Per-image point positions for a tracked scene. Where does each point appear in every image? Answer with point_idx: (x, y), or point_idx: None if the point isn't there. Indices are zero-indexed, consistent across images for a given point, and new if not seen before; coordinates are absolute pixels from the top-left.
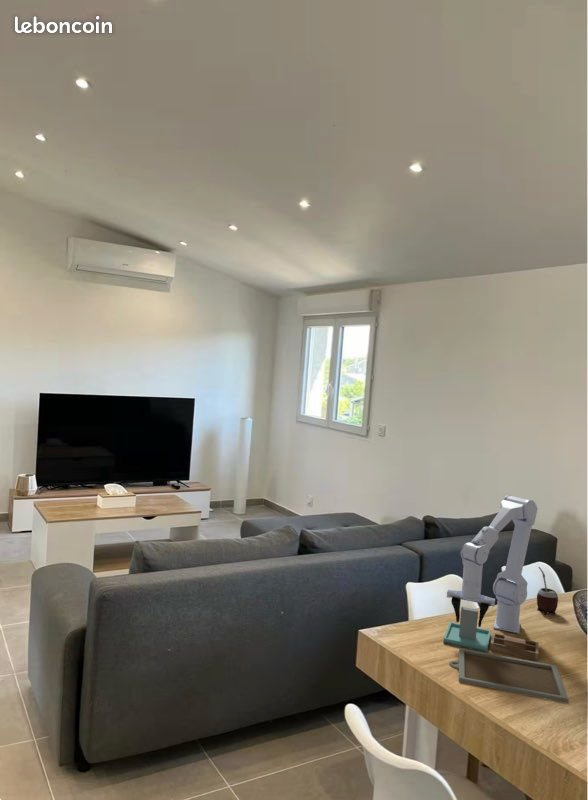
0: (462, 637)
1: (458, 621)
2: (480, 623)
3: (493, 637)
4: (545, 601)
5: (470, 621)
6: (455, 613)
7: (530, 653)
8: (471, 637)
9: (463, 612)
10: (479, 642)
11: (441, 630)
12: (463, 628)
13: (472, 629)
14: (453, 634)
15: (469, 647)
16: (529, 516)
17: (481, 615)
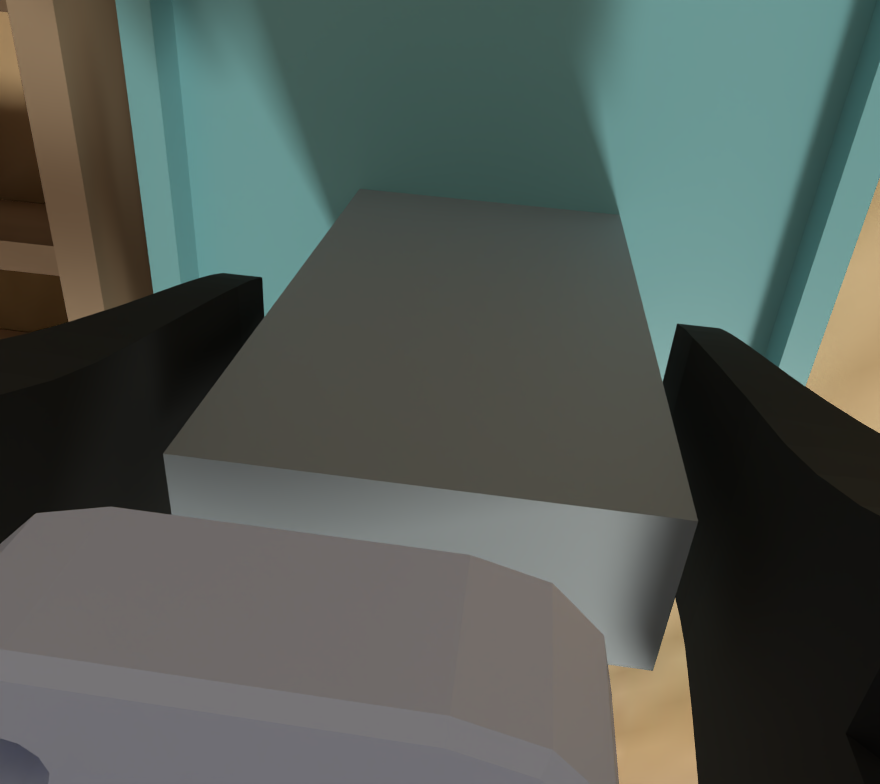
0: (563, 206)
1: (685, 329)
2: (183, 286)
3: (69, 253)
4: None
5: (413, 320)
6: (832, 406)
7: None
8: (417, 205)
9: (603, 445)
10: (290, 128)
11: (869, 389)
12: (560, 264)
13: (386, 250)
14: (708, 260)
15: None
16: None
17: (51, 349)
